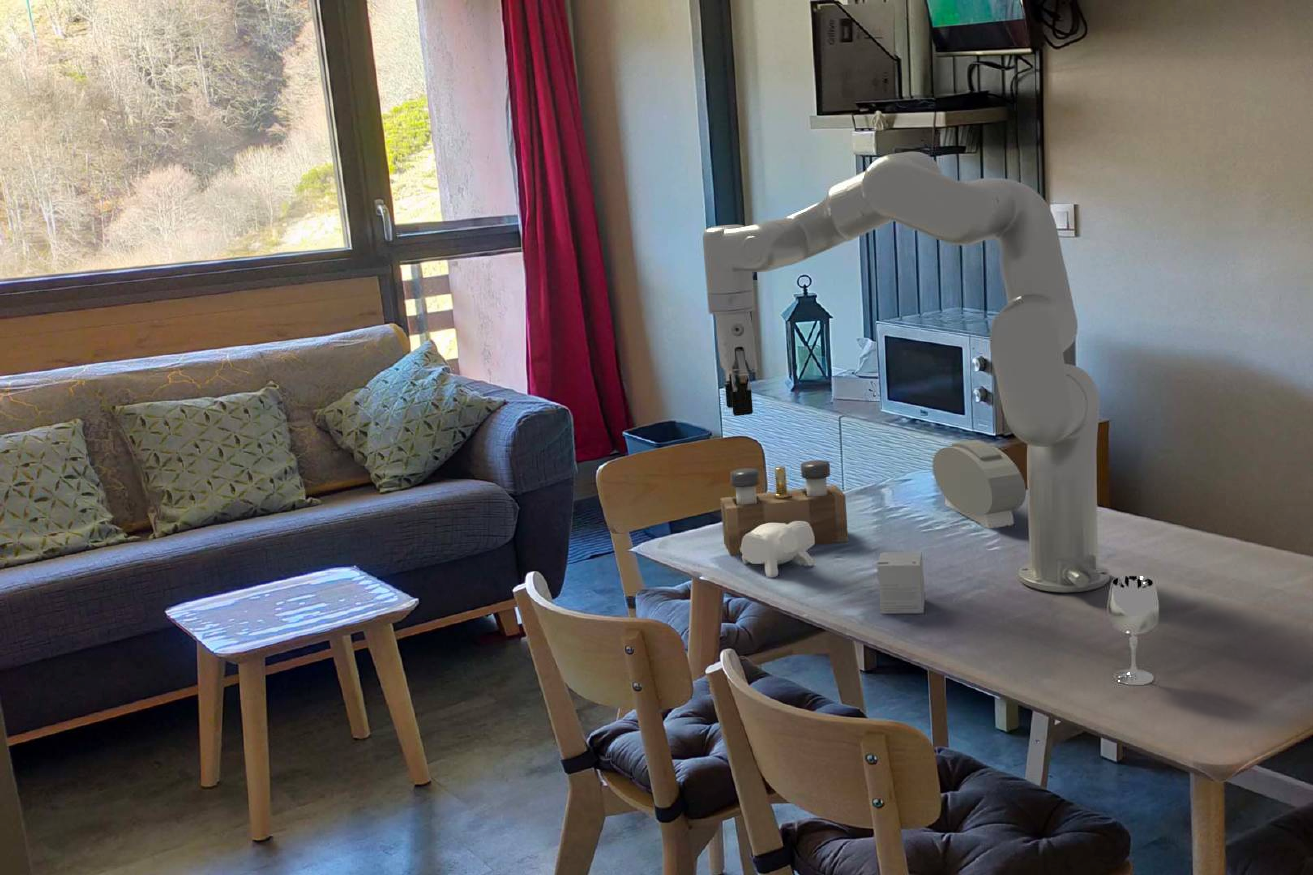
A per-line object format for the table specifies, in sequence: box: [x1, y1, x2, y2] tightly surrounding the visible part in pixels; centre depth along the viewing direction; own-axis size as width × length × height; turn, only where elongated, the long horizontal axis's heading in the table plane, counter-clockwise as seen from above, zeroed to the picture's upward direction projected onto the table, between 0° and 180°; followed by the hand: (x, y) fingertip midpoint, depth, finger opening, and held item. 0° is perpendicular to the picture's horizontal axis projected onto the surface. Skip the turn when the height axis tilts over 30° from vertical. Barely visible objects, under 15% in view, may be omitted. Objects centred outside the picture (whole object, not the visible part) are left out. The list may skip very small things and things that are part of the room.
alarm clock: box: [932, 439, 1027, 530], centre depth 221 cm, size 23×6×13 cm, turn 12°
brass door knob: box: [773, 466, 791, 499], centre depth 214 cm, size 3×3×5 cm
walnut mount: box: [719, 484, 849, 556], centre depth 216 cm, size 7×20×8 cm, turn 95°
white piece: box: [739, 521, 815, 579], centre depth 203 cm, size 9×8×15 cm
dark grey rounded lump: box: [729, 467, 761, 505], centre depth 214 cm, size 5×5×9 cm
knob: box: [800, 459, 831, 497], centre depth 215 cm, size 5×5×9 cm
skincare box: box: [876, 551, 926, 615], centre depth 182 cm, size 6×6×7 cm
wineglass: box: [1106, 575, 1160, 686], centre depth 151 cm, size 6×6×12 cm
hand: (739, 409), depth 211 cm, fingers open, 6 cm apart
